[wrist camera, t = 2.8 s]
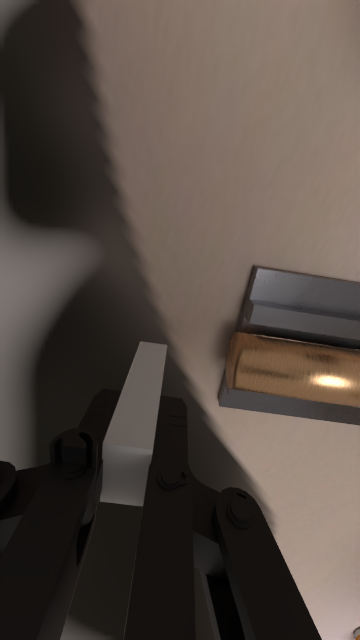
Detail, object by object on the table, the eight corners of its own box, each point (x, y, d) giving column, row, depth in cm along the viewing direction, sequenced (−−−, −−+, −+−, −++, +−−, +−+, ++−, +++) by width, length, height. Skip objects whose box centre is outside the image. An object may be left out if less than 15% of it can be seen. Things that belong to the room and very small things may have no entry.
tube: (235, 321, 16) (248, 352, 13) (447, 354, 16) (511, 390, 13) (223, 365, 17) (231, 402, 14) (416, 393, 18) (467, 435, 15)
